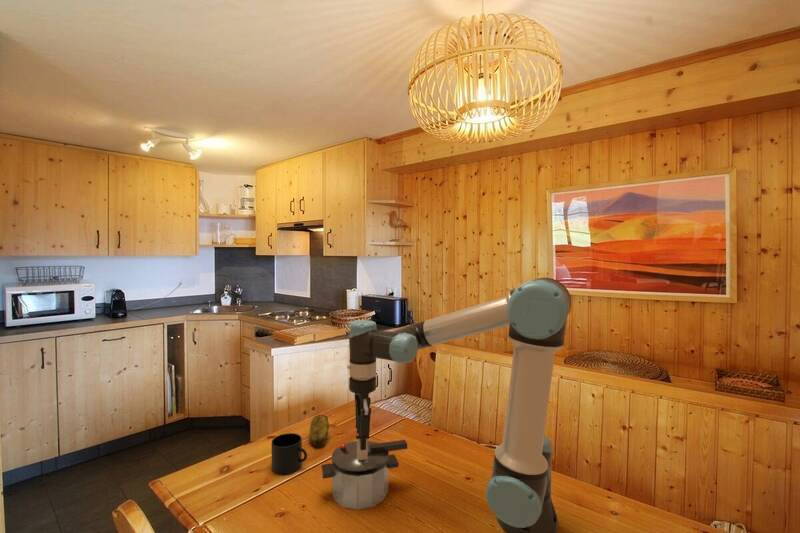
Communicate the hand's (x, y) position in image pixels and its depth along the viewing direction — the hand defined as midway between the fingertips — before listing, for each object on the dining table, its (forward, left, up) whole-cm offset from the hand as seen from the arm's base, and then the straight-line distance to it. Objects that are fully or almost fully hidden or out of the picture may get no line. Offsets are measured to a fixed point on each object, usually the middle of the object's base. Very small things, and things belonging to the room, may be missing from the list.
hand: (362, 458), depth 107 cm
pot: (+4, 0, -12) cm, 13 cm away
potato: (+38, +10, -12) cm, 41 cm away
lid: (+4, -3, -2) cm, 5 cm away
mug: (+22, +20, -12) cm, 32 cm away
